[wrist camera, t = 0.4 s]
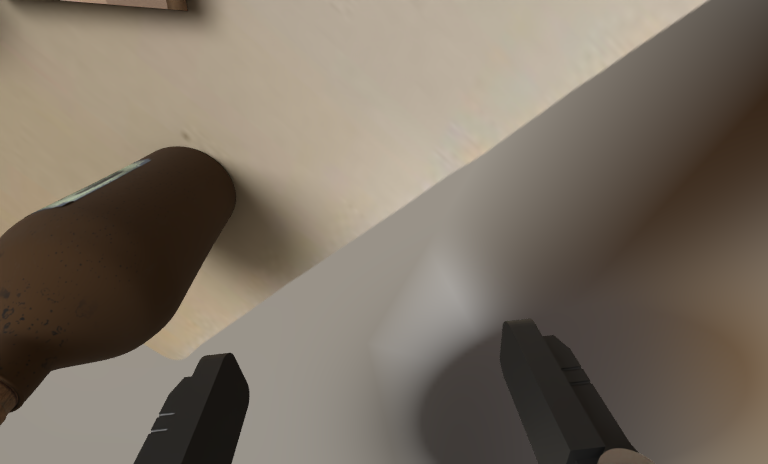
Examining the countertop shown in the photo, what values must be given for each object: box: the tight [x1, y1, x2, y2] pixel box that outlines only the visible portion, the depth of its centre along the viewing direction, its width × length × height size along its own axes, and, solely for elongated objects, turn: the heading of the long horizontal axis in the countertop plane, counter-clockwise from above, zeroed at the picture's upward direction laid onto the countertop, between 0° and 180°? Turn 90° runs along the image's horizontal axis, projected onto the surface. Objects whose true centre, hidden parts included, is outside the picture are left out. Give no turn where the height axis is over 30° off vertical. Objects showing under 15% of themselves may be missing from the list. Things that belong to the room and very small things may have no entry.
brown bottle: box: [0, 147, 236, 425], centre depth 26 cm, size 11×11×25 cm
